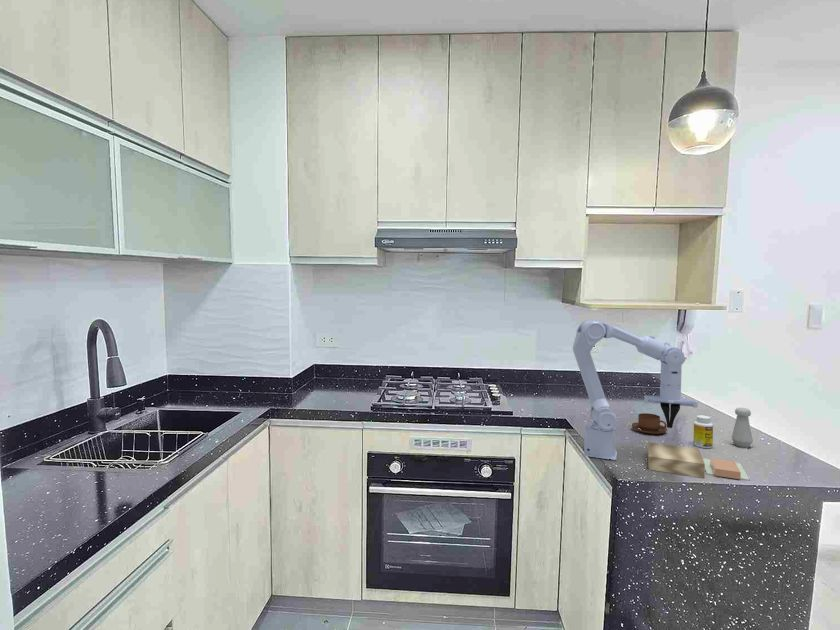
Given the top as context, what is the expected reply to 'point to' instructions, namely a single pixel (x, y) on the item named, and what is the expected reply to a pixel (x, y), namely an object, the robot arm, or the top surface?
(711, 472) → the sage mat
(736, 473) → the terracotta tile
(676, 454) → the oak board
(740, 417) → the salt shaker
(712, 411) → the top surface
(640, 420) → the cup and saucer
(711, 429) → the supplement bottle
